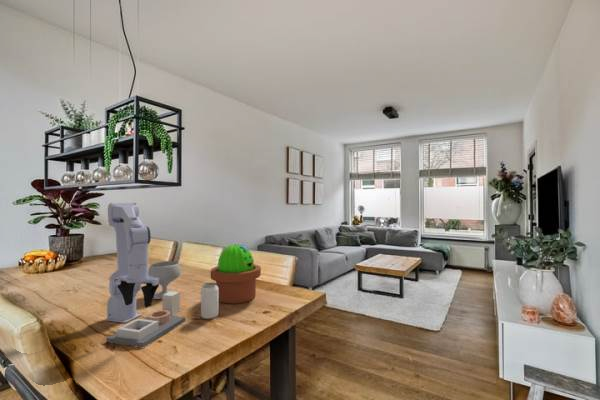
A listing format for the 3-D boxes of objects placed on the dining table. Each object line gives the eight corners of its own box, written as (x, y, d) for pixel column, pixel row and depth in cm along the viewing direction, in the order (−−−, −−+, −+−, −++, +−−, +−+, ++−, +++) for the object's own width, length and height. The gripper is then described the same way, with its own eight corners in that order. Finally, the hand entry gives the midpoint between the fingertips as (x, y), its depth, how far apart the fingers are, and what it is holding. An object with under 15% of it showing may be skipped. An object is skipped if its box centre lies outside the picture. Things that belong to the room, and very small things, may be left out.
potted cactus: (200, 301, 130) (200, 244, 130) (233, 287, 149) (233, 239, 149) (239, 309, 119) (239, 248, 119) (269, 294, 139) (269, 241, 139)
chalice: (186, 293, 139) (186, 262, 139) (160, 302, 127) (159, 268, 127) (168, 289, 146) (168, 259, 147) (141, 297, 134) (141, 265, 134)
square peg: (162, 315, 113) (162, 294, 113) (170, 311, 118) (170, 291, 118) (172, 316, 112) (172, 295, 112) (179, 312, 117) (179, 292, 117)
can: (212, 311, 117) (212, 281, 117) (221, 315, 113) (221, 284, 113) (197, 316, 112) (197, 285, 112) (207, 320, 108) (207, 288, 108)
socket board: (106, 342, 92) (106, 329, 92) (153, 317, 111) (153, 307, 111) (143, 348, 88) (143, 334, 88) (185, 321, 108) (185, 310, 108)
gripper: (109, 265, 93) (109, 307, 93) (147, 268, 90) (147, 312, 90) (128, 261, 100) (128, 300, 100) (163, 263, 96) (163, 304, 96)
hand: (138, 305), depth 95 cm, fingers open, 7 cm apart
